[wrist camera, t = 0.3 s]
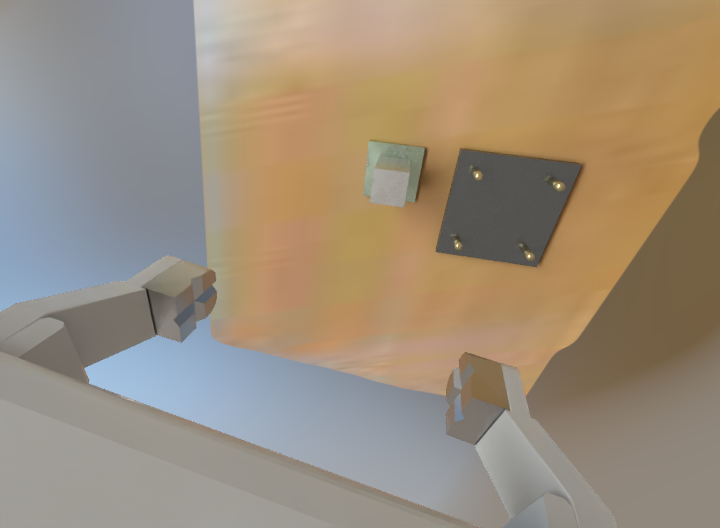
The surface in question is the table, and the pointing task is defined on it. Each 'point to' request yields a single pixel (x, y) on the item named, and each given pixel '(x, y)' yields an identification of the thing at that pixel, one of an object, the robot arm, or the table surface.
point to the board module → (392, 173)
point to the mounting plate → (504, 206)
